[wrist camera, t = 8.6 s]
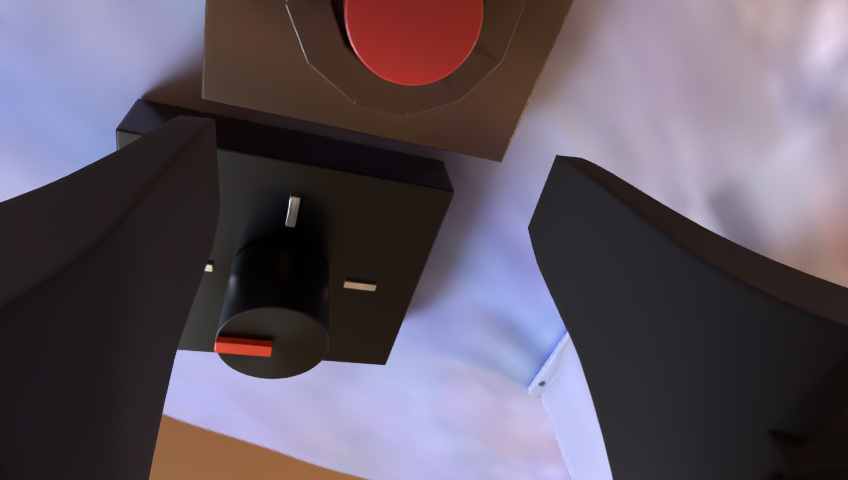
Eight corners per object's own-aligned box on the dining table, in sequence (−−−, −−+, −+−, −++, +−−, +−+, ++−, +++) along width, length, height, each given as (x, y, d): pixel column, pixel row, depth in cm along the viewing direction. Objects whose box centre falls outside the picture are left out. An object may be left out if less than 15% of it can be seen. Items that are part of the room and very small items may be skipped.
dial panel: (381, 329, 28) (385, 368, 26) (144, 306, 25) (127, 349, 23) (444, 160, 22) (455, 194, 20) (137, 97, 18) (113, 130, 16)
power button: (446, 76, 16) (457, 99, 14) (331, 47, 15) (331, 69, 13) (489, -49, 14) (505, -36, 12) (358, -94, 13) (362, -86, 11)
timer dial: (337, 246, 21) (338, 320, 18) (319, 312, 23) (318, 389, 20) (235, 231, 20) (217, 307, 16) (227, 302, 22) (209, 382, 19)
